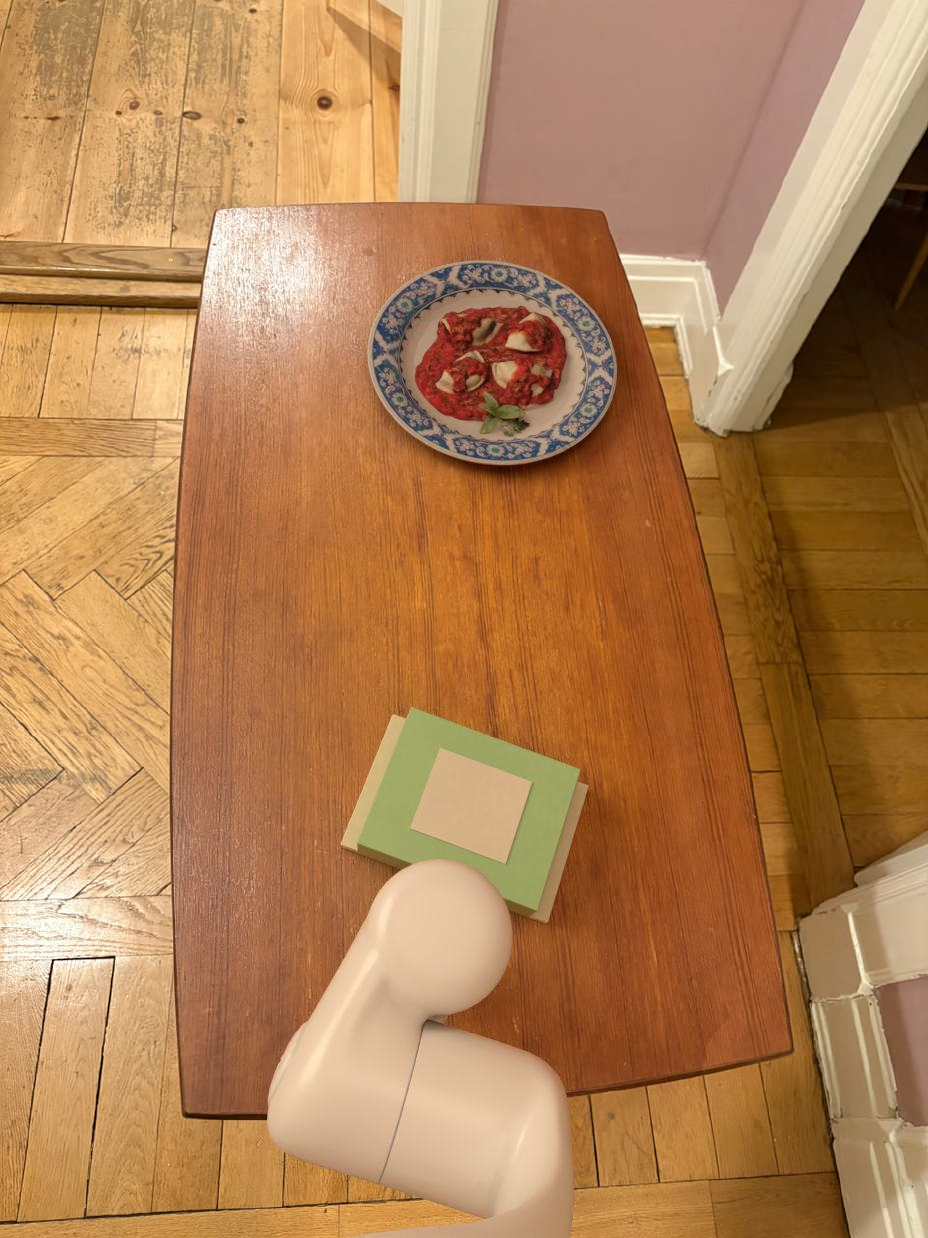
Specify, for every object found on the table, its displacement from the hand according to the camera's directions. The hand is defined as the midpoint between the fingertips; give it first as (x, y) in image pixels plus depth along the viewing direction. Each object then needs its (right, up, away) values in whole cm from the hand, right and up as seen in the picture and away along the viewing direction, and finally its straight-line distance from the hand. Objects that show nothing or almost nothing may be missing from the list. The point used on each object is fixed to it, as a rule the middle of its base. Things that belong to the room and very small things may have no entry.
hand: (411, 972), depth 74 cm
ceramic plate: (+7, +54, +25) cm, 60 cm away
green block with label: (+4, +11, +6) cm, 13 cm away
